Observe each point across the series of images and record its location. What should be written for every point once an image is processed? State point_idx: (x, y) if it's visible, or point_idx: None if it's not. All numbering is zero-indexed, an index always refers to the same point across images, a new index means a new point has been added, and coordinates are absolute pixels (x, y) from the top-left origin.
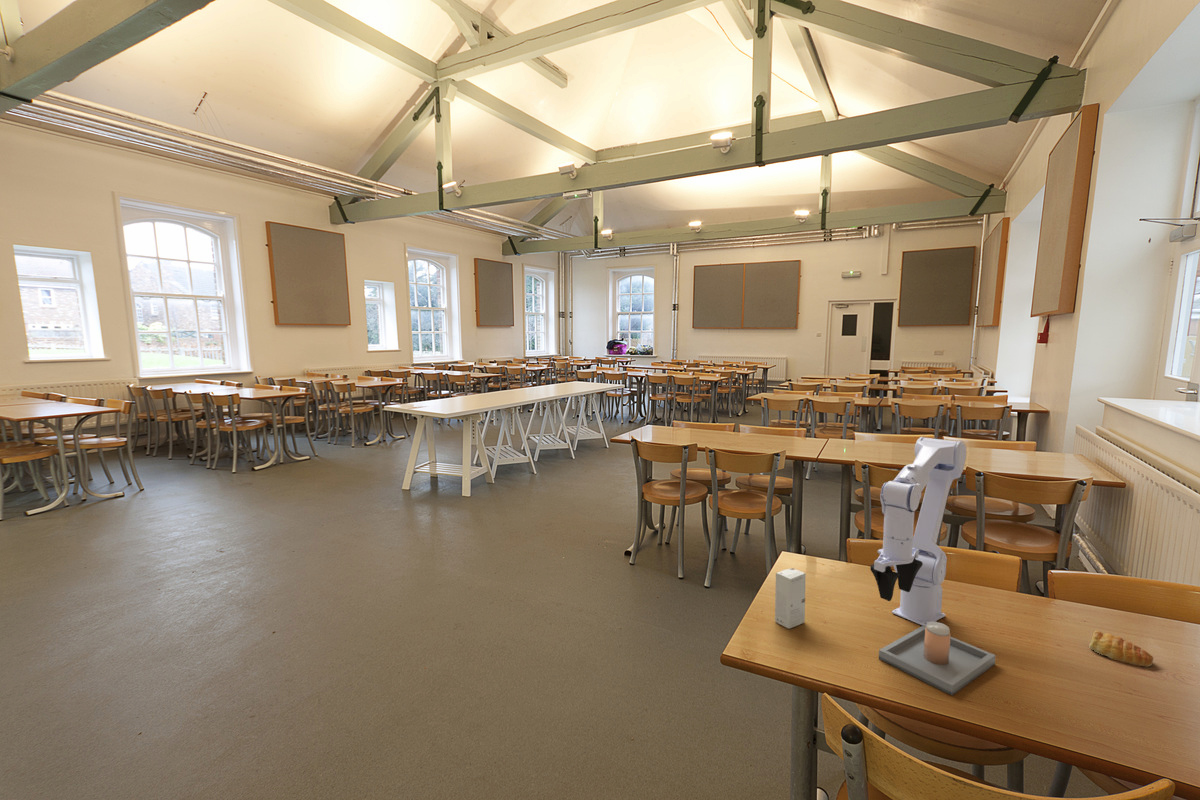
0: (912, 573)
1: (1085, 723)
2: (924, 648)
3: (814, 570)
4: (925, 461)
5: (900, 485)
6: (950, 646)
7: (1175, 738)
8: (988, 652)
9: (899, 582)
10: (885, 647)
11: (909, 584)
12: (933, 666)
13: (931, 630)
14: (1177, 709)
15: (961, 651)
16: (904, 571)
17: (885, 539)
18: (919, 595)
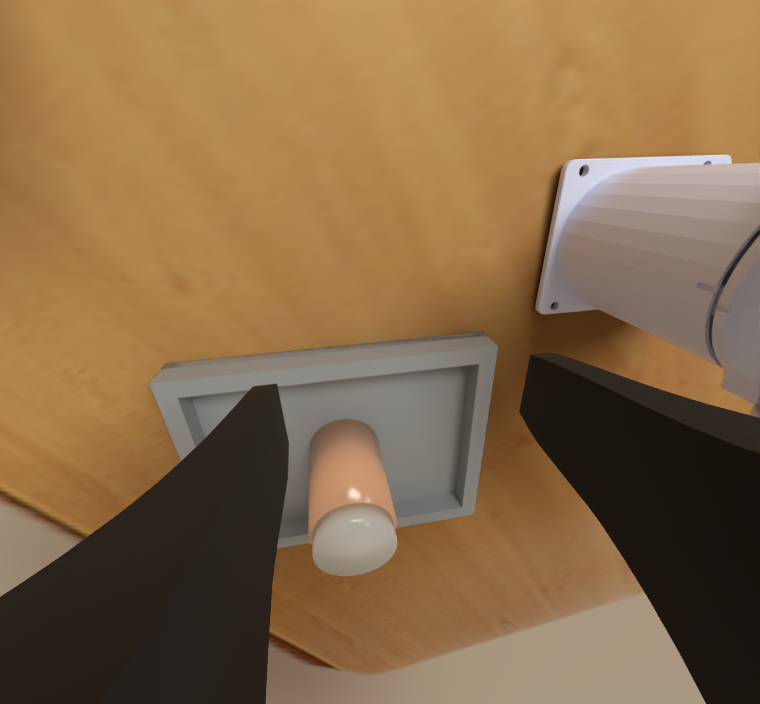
0: (643, 573)
1: (386, 615)
2: (319, 450)
3: None
4: None
5: None
6: (452, 424)
7: (455, 644)
8: (474, 503)
9: (568, 380)
10: (193, 383)
11: (559, 459)
12: (295, 465)
13: (312, 545)
14: (542, 618)
15: (449, 449)
16: (667, 507)
17: None
18: (654, 317)
